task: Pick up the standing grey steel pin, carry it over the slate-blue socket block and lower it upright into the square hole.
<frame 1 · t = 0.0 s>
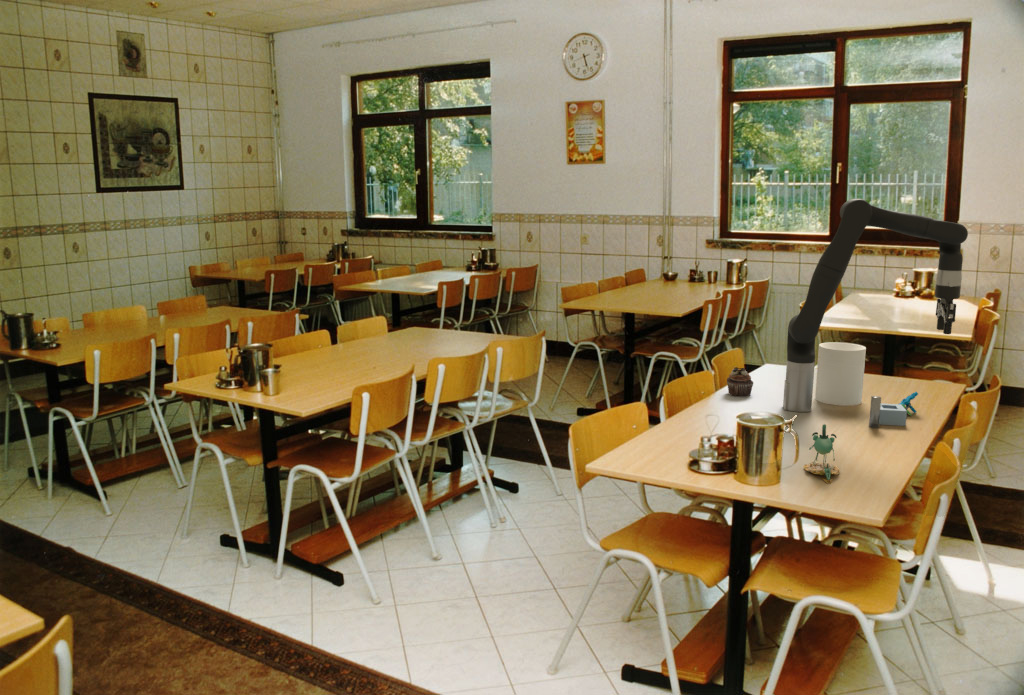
hand: (943, 331, 297), 29 cm above the table, fingers open, 8 cm apart
frog figurine: (820, 474, 244), on the table
pin: (873, 426, 289), on the table
socket block: (888, 421, 296), on the table
canister: (838, 400, 324), on the table
cupcake: (739, 394, 332), on the table
teal lobed toy: (904, 413, 308), on the table
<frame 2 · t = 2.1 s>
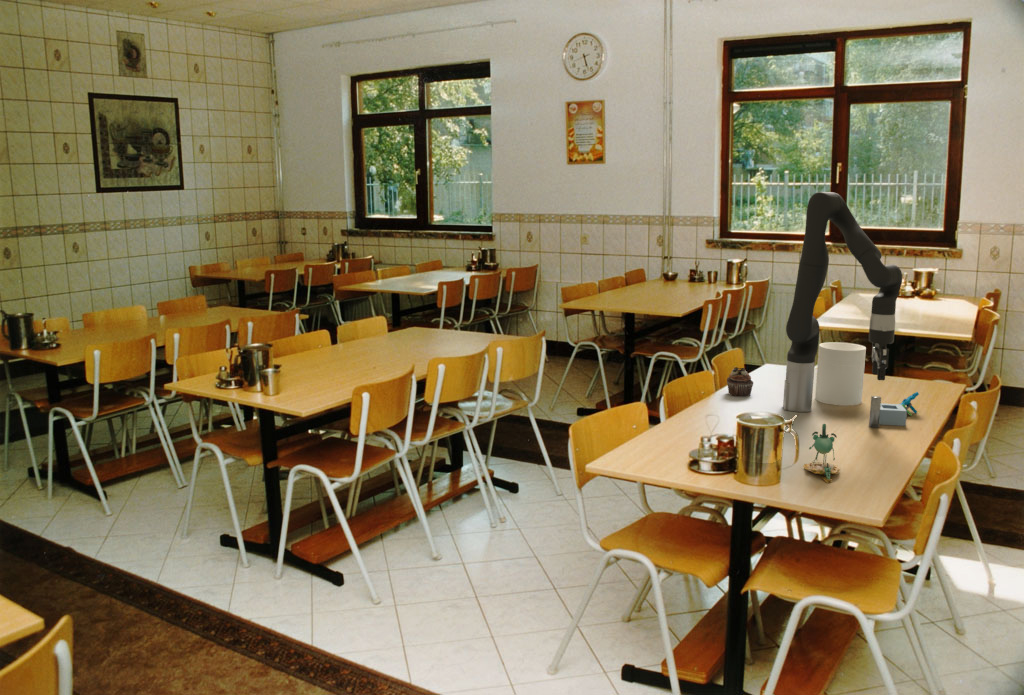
hand: (878, 377, 286), 17 cm above the table, fingers open, 8 cm apart
nothing on the table moved.
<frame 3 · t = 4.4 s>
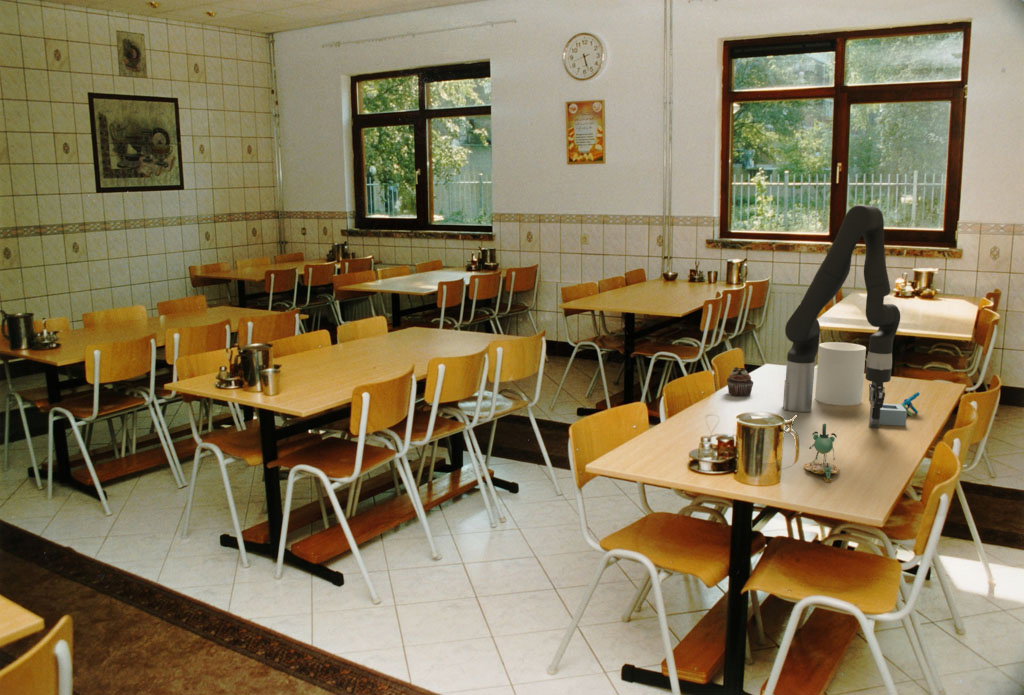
hand: (874, 417, 289), 3 cm above the table, fingers closed on pin, 3 cm apart
pin: (873, 426, 289), on the table, touching gripper
everything else where it was.
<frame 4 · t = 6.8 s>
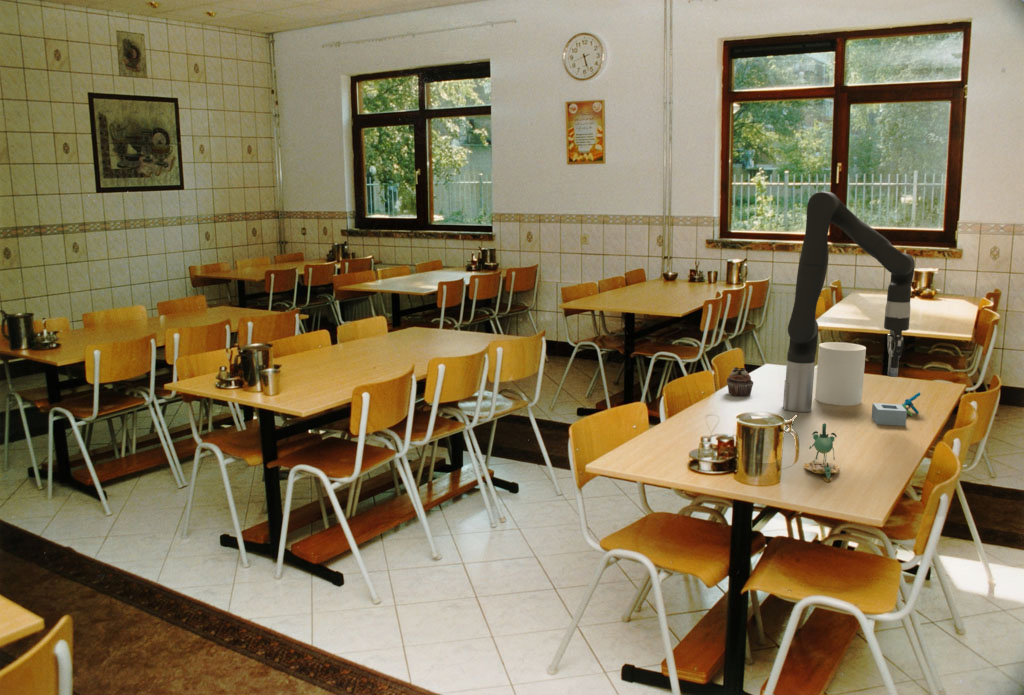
hand: (893, 366, 292), 19 cm above the table, fingers closed on pin, 3 cm apart
pin: (892, 375, 293), point 16 cm above the table, touching gripper
everything else where it was.
when the fingers open (6 cm above the table, at t = 8.8 s): pin drops 2 cm, resting in socket block.
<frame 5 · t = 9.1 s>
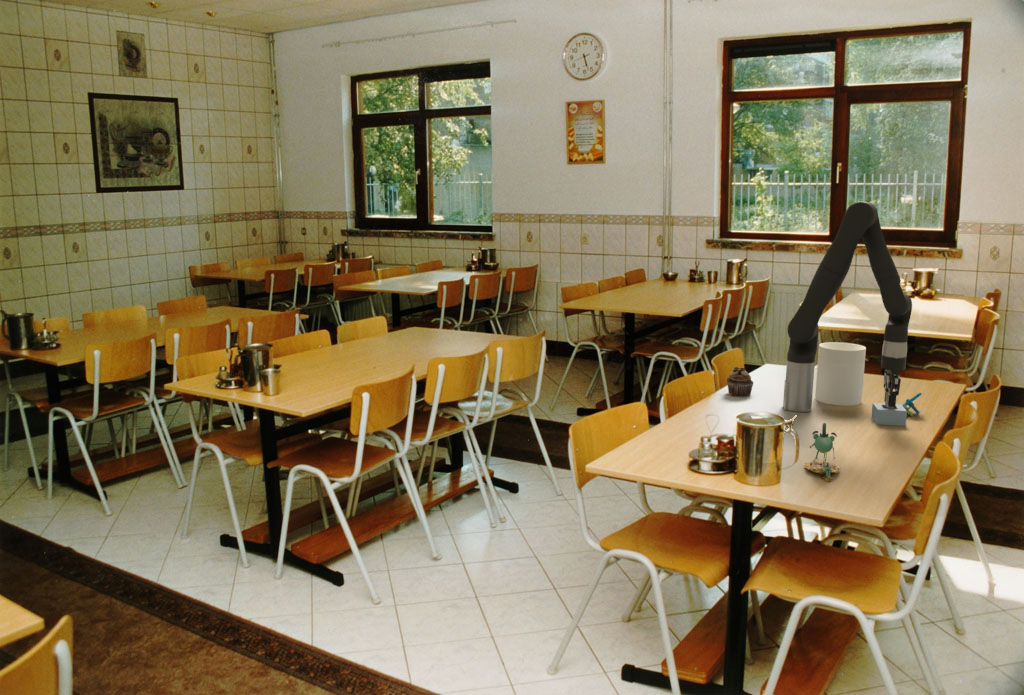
hand: (889, 404, 295), 6 cm above the table, fingers open, 5 cm apart
pin: (888, 421, 296), resting in socket block
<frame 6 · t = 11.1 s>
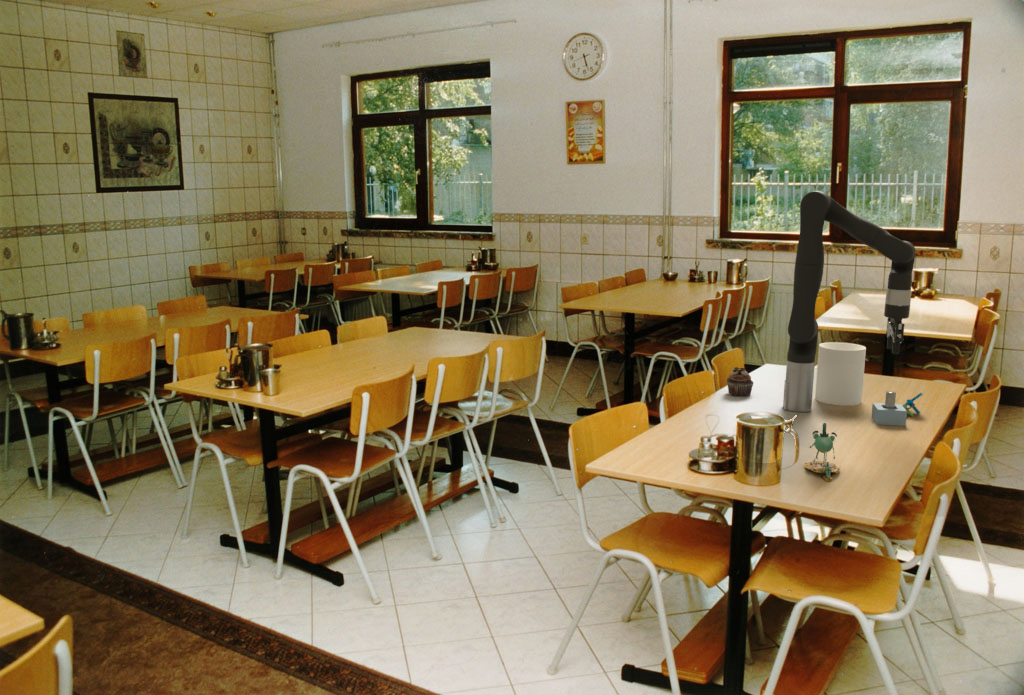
hand: (892, 351, 292), 24 cm above the table, fingers open, 8 cm apart
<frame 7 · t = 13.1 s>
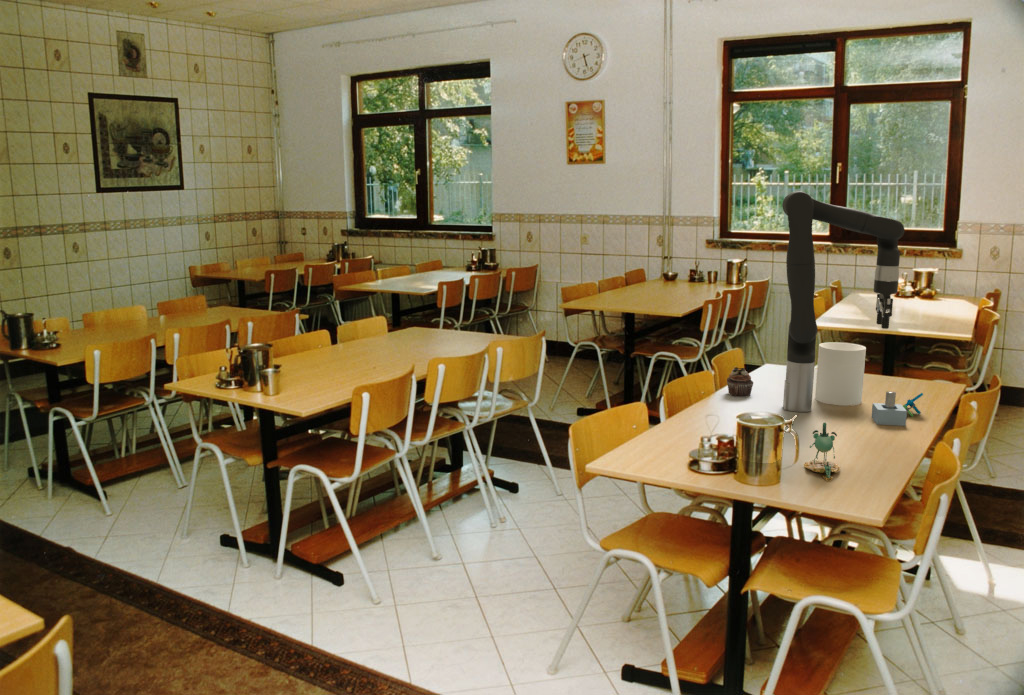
hand: (882, 326, 302), 30 cm above the table, fingers open, 8 cm apart
at the end: pin 0.1 cm off-centre on the socket block, point 0.0 cm above the socket block's base; pin tilted 0°; the gripper is holding nothing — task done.
